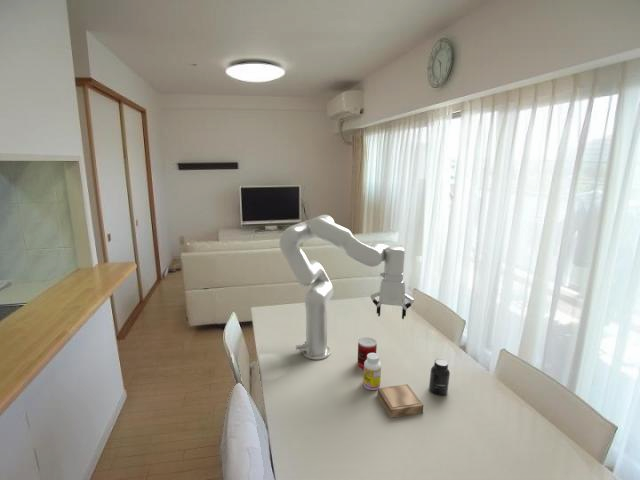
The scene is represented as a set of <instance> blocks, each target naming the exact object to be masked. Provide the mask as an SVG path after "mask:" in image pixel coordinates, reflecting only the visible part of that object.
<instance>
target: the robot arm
mask: <svg viewBox="0 0 640 480" xmlns="http://www.w3.org/2000/svg"><path fill="white" fill-rule="evenodd" d="M315 238H319V239H321V240H323V241H325V242H327V243H329V244H331V245H333V246H335V247H336V248H339V249H340V250H341V251H342V252H343V253H345V254H346V255H347V256H348V257H349V258H351V259H352V260H355V261H356V262H359V263H360V264H362V265H364V266H367V267H370V268H374V267H377V266H379V265H380V264H382V262H384V266H383V268H384V270H383V272H380V275H379V276H380V277H382V279H381V282H380V287H379V291H378V292H374V293H372V294H371V295H370V299H371V301H372V303H373V304H374V306H375V307H376V315H377V316H378V317H380V316H381V305H384V306H386V305H387V306H396V307H401V308H402V310H401V313H402V314H401V319H402V320H404V319H405V317H406V315H407V310H408V309H409V308H410V307H412V305H413V303H414V302H415V299H414V298H413V297H412V296H410V295H408V294H406V283H405V280H404V268H405V267H404V265H405V248H403V247H401V246H398V245H388V244H383V243H380V242H379V243H377V242H375V243H372V244H371V245H367V244H365V243H363V242H361V241H360V240H359V239H357V238H355V236H354V235H353V233H352V231H351V230H350V229H348V228H346V227H345V226H342V225H340V224H338V223H335V220H334V219H333V217H332V216H330V215H328V214H322V215H318V216H316V217H313V218H311V219H308V220H304V221H301V222H299V223H295V224H293V225H290V226H288V227H287V228H285V230H284V231H283V232H282V233H281V235H280V238H279V248H280V251H281V253H282V255H283V256H284V258H285V260H286V262H287V264H288V266H289V268H290V269H291V272H292V273H293V275H294V278H295V279H296V281H297V282H298V284H299V285H300V286H302V287H309V286H311V287H310V288H309V289H308V290H307V292H306V293H305V296H304V306H305V321H306V322H305V327H306V329H305V334H306V335H305V341H304V343H303V344H295V351H296V350H298V351H299V353H301V352H302V354H303V356H304V357H306V358H307V359H309V360H314V361H315V360H316V361H317V360H318V361H319V360H324V359H327V358H328V357H329V356H330V354H331V349H330V347H329V346H328V310H327V309H328V308H327V304H328V302H330V300H331V298H332V297H333V295H334V293H335V292H334V291H335V290H334V286H333V284H332V282H331V280H330V278H329V277H328V274H327V273H326V270H325V269H324V266H323V265H322V264H321V263H320V262H319V261H317V260H314V259H308V257H307V255H306V252H304V250H303V249H302V248H301V247H300V245H301V244H302V243H304V242H306V241H308V240H310V239H315ZM376 298H379V300H377V299H376ZM406 300H407V301H408V302H407V303H405V302H406Z"/></svg>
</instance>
